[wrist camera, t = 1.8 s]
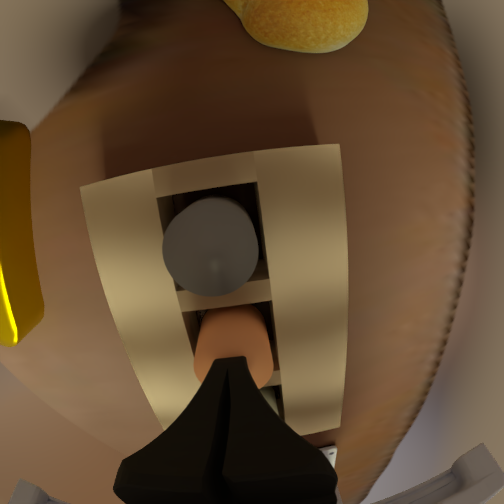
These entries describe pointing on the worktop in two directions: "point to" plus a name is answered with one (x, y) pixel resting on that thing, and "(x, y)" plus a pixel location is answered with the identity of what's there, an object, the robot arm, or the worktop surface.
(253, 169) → the button panel
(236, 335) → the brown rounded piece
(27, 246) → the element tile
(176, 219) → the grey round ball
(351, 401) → the worktop surface
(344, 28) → the bread roll
